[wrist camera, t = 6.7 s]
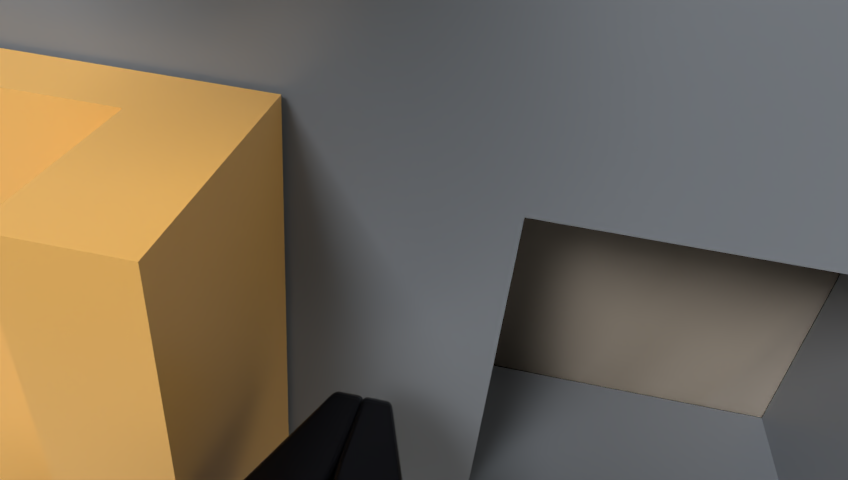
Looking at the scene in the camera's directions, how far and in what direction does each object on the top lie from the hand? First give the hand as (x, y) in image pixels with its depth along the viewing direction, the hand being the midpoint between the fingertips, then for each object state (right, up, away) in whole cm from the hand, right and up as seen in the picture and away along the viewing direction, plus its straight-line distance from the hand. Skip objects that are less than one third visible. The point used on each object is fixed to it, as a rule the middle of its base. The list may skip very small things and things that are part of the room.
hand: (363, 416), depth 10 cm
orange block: (-5, +2, +1) cm, 6 cm away
